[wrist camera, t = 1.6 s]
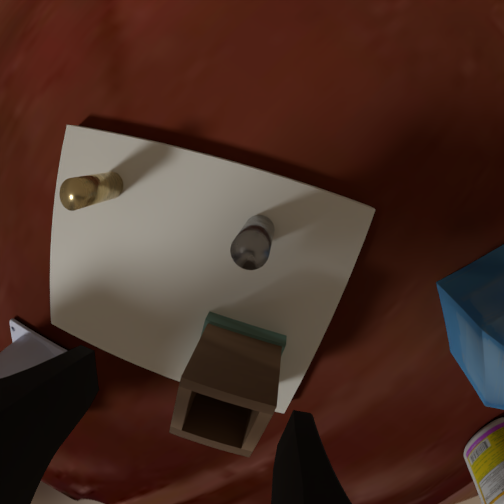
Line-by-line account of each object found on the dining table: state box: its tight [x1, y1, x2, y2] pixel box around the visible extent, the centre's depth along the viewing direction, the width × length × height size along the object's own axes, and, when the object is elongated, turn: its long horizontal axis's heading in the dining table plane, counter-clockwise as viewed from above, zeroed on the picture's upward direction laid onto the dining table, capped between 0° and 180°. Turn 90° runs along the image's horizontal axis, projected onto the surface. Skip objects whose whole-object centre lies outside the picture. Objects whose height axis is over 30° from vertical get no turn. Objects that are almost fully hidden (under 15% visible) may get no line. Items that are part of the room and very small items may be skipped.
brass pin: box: [59, 172, 123, 211], centre depth 15 cm, size 2×2×4 cm
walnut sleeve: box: [169, 311, 287, 457], centre depth 16 cm, size 5×5×6 cm
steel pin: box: [230, 215, 275, 270], centre depth 15 cm, size 2×2×4 cm
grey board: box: [50, 125, 376, 413], centre depth 19 cm, size 15×19×1 cm
